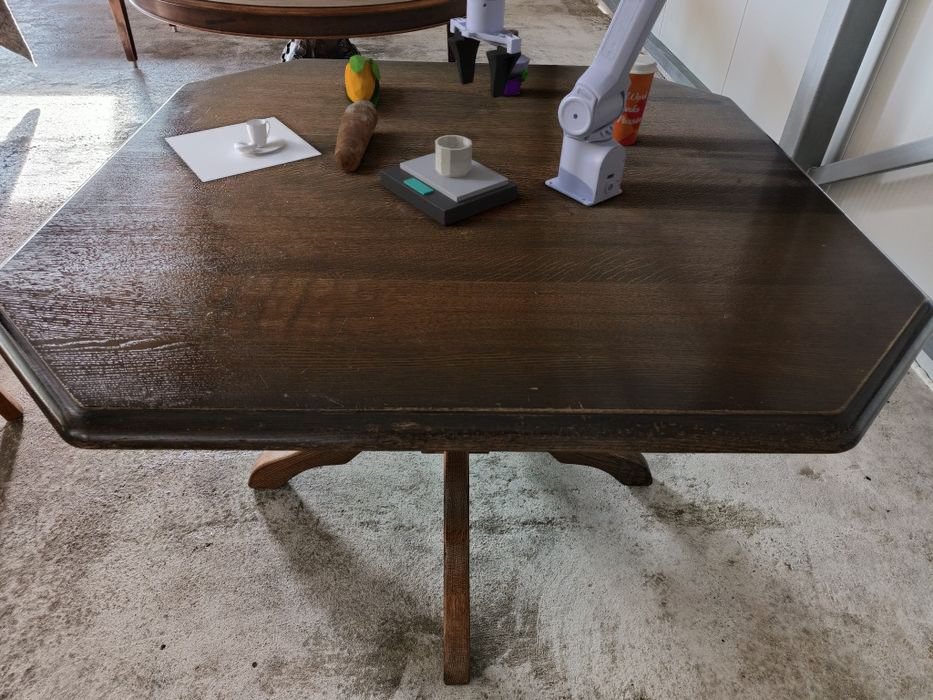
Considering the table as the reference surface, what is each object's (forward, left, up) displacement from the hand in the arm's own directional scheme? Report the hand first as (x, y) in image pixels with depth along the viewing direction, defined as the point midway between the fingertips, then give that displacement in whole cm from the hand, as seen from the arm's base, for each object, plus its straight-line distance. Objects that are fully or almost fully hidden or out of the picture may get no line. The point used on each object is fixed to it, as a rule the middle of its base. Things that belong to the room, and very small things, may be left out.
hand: (481, 89), depth 102 cm
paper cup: (-11, -25, -11) cm, 29 cm away
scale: (-9, +14, -10) cm, 20 cm away
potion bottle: (+20, -25, -11) cm, 34 cm away
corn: (+32, +3, -11) cm, 34 cm away
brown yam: (+12, +17, -11) cm, 23 cm away
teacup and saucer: (+25, +32, -11) cm, 42 cm away
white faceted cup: (-9, +13, -7) cm, 17 cm away
